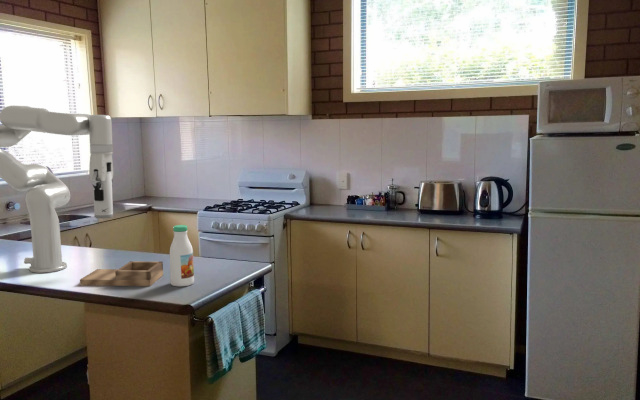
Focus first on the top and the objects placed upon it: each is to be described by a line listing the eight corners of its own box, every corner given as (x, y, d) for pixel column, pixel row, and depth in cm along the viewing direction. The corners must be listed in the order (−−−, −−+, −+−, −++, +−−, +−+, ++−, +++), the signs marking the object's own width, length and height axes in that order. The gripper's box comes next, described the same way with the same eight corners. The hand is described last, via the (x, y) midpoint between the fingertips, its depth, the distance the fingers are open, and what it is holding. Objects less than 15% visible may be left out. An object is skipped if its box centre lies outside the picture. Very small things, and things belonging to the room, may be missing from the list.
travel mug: (107, 219, 195) (105, 163, 192) (91, 218, 196) (88, 162, 193) (117, 216, 201) (115, 161, 198) (101, 215, 202) (99, 161, 199)
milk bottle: (172, 288, 180) (170, 228, 177) (169, 282, 187) (166, 224, 184) (196, 285, 183) (194, 226, 180) (191, 279, 190) (189, 223, 187)
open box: (80, 285, 184) (79, 270, 183) (97, 274, 197) (96, 261, 196) (150, 286, 183) (149, 271, 182) (163, 275, 196) (162, 261, 195)
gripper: (101, 148, 204) (103, 195, 206) (79, 150, 187) (81, 202, 189) (121, 148, 204) (123, 196, 206) (101, 151, 186) (103, 203, 189)
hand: (103, 198), depth 198 cm, fingers closed on travel mug, 6 cm apart
